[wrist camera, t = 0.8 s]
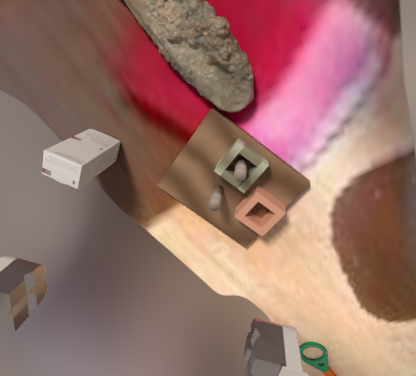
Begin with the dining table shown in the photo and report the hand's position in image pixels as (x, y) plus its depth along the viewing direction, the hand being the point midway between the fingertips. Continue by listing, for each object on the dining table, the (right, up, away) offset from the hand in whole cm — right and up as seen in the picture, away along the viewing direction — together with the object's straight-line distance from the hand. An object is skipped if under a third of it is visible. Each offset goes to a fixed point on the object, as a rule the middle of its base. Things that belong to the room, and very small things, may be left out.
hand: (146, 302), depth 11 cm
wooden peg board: (+6, +6, +40) cm, 41 cm away
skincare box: (-16, +12, +41) cm, 46 cm away
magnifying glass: (+29, -36, +56) cm, 73 cm away
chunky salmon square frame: (+11, +1, +39) cm, 41 cm away
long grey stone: (-3, +30, +30) cm, 43 cm away
